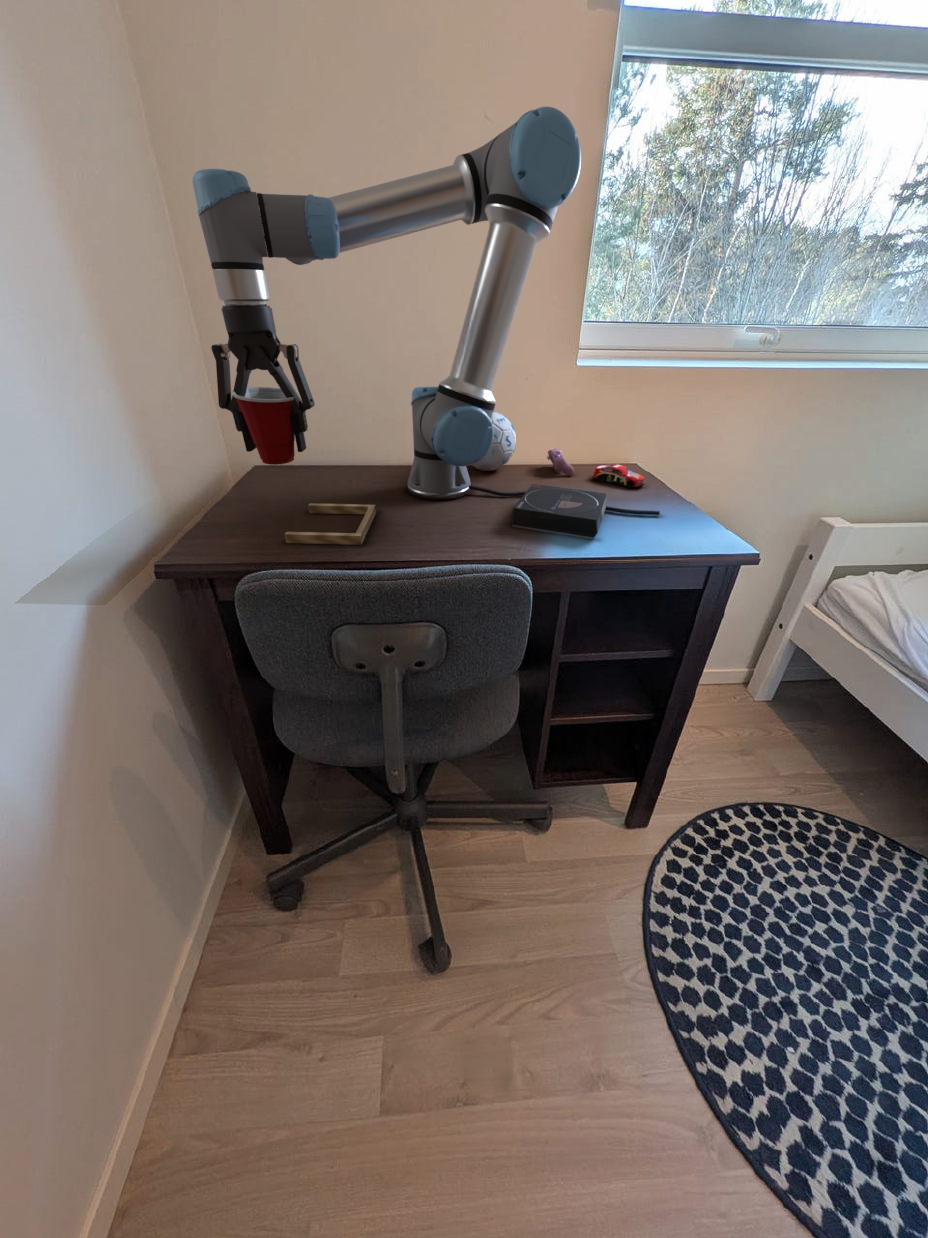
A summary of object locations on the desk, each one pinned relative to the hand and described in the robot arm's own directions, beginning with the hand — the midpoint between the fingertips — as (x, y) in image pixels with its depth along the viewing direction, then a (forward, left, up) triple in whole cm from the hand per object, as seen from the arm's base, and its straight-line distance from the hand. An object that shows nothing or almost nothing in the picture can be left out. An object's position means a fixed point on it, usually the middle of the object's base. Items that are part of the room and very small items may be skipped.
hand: (276, 449), depth 88 cm
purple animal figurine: (-61, -42, -15) cm, 75 cm away
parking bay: (-8, 0, -15) cm, 17 cm away
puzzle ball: (-41, -42, -15) cm, 60 cm away
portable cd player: (-56, -7, -15) cm, 58 cm away
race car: (-75, -33, -15) cm, 83 cm away
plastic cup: (0, 0, -2) cm, 2 cm away
